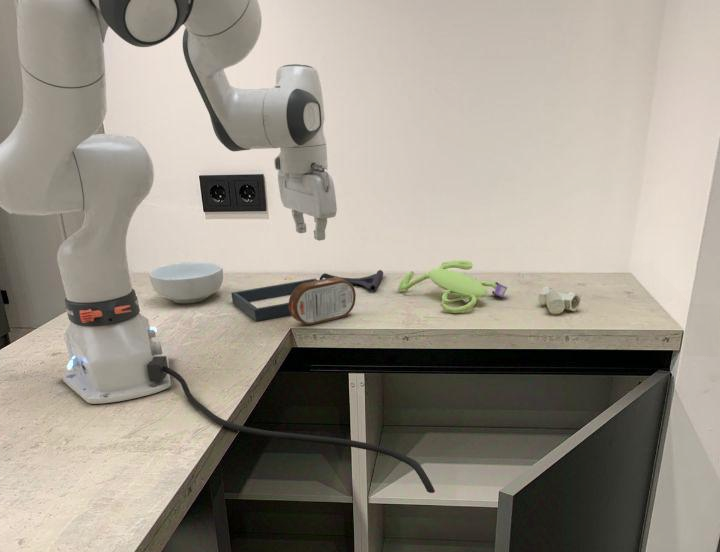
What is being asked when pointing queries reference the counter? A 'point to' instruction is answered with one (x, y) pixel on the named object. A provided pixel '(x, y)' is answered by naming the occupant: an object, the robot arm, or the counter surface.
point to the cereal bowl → (187, 281)
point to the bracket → (361, 280)
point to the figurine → (455, 284)
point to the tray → (268, 312)
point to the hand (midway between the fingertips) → (310, 236)
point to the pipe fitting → (559, 300)
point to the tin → (322, 300)
